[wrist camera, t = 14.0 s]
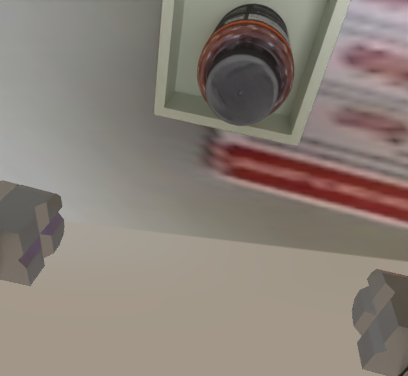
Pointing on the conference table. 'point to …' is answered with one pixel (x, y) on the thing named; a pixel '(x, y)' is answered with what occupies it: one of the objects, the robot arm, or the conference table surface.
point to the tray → (200, 33)
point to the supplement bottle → (246, 65)
